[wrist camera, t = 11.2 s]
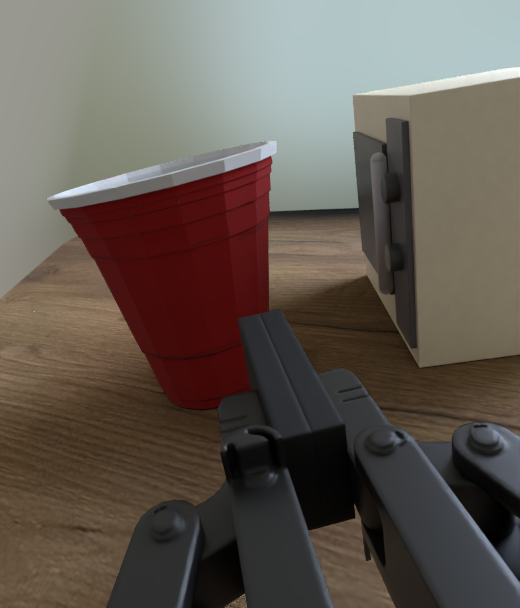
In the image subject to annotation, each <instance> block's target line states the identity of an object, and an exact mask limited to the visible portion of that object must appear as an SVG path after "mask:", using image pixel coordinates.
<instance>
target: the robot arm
mask: <svg viewBox="0 0 520 608" xmlns="http://www.w3.org/2000/svg"><path fill="white" fill-rule="evenodd" d="M237 320H238V325H239V330H240V335H241V340H242V346H243V351H244V356H245V361H246V366H247V371H248V376H249V381H250V386H251V391H247V392H243V393H238V394H234V395H230V396H226V397H223V398H222V400H221V402H220V405H219V407H218V409H217V410H218V416H219V422H220V429H221V435H222V441H223V443H222V444H221V451H220V454H221V458H222V462H223V466H224V470H225V474H226V480H225V483H224V484H223V486H222V487H221V489H220V490H219V491H218V492H217V493H216V494H215V495H214V496H212V497H211V498H209V499H208V500H206V501H205V502H203V503H201V504H199V505H197V506H194V505H193V504H191V503H189V502H187V501H183V500H171V501H166V502H162V503H160V504H158V505H156V506H154V507H153V508H151V509H150V510H148V511H147V512H146V513H145V514H144V515H143V516H142V517H141V518H140V520H139V522H138V523H137V525H136V527H135V529H134V532H133V535H132V538H131V540H130V543H129V546H128V549H127V551H126V554H125V557H124V560H123V563H122V565H121V568H120V571H119V574H118V576H117V579H116V582H115V585H114V587H113V590H112V593H111V596H110V599H109V601H108V604H107V607H106V608H224V606H226V605H228V604H229V603H231V602H232V601H234V600H235V599H237V598H238V597H240V596H241V595H243V594H244V593H245V595H246V601H247V607H248V608H334V606H333V603H332V600H331V597H330V594H329V591H328V588H327V585H326V582H325V579H324V576H323V573H322V570H321V567H320V564H319V561H318V558H317V555H316V552H315V549H314V546H313V543H312V540H311V537H310V534H309V530H313V529H316V528H320V527H324V526H328V525H331V524H335V523H339V522H343V521H346V520H350V519H354V518H355V509H354V504H355V506H356V508H357V510H358V512H359V514H360V517H361V523H362V533H363V543H364V552H365V557H366V561H368V560H371V555H370V552H371V554H372V556H373V558H374V561H375V563H376V565H377V567H378V569H379V572H380V574H381V576H382V578H383V581H384V583H385V585H386V587H387V589H388V592H389V594H390V596H391V598H392V600H393V603H394V605H395V607H396V608H520V437H519V436H517V435H516V434H514V433H513V432H511V431H509V430H508V429H505V428H503V427H501V426H499V425H496V424H491V423H486V422H472V423H468V424H465V425H462V426H460V427H459V428H458V429H456V430H455V431H454V434H453V436H452V442H423V441H417V440H414V439H413V437H412V436H411V435H410V434H408V433H407V432H406V431H405V430H403V429H401V428H399V427H396V426H392V425H391V424H390V423H389V421H388V420H387V418H386V417H385V416H384V414H383V413H382V411H381V410H380V408H379V407H378V406H377V404H376V403H375V401H374V400H373V399H372V397H371V396H370V395H369V393H368V391H367V390H366V389H365V387H363V384H362V383H361V382H360V380H359V379H358V377H357V376H356V375H355V374H353V373H351V372H349V371H348V370H346V369H344V368H340V369H335V370H331V371H327V372H323V373H318V374H317V373H316V371H315V370H314V368H313V366H312V364H311V362H310V361H309V359H308V357H307V355H306V353H305V352H304V350H303V348H302V346H301V345H300V343H299V341H298V339H297V337H296V336H295V334H294V332H293V330H292V328H291V327H290V325H289V323H288V321H287V320H286V318H285V316H284V314H283V312H282V311H281V309H278V310H274V311H269V312H265V313H260V314H256V315H251V316H247V317H242V318H237Z"/></svg>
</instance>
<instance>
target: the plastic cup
mask: <svg viewBox="0 0 520 608" xmlns="http://www.w3.org/2000/svg"><path fill="white" fill-rule="evenodd" d="M276 146H277V142H276V141H274V140H273V141H266V142H259V143H252V144H247V145H243V146H238V147H233V148H228V149H223V150H219V151H214V152H210V153H206V154H201V155H197V156H193V157H188V158H185V159H180V160H176V161H172V162H168V163H164V164H160V165H156V166H152V167H149V168H145V169H141V170H137V171H133V172H130V173H126V174H122V175H119V176H115V177H111V178H108V179H104V180H101V181H98V182H94V183H90V184H87V185H84V186H81V187H77V188H74V189H71V190H68V191H65V192H62V193H59V194H57V195H54V196H51V197H49V198H46V199H47V201H48V202H49V204H50V205H51V206H52V208H53V209H54V210H57V209H59V210H60V212H61V214H62V215H63V216H64V217H65V218H66V219H67V221H68V222H69V223H70V224H71V225H72V227H73V228H74V230H75V232H76V234H77V235H78V237H79V238H81V239H82V241H83V243H84V245H85V247H86V249H87V250H88V252H89V254H90V255H91V257H92V258H93V259H94V260H95V262H96V264H97V266H98V268H99V270H100V272H101V274H102V275H103V277H104V279H105V281H106V283H107V285H108V287H109V289H110V291H111V293H112V295H113V297H114V299H115V301H116V303H117V305H118V307H119V309H120V311H121V313H122V314H123V316H124V318H125V320H126V322H127V324H128V326H129V328H130V330H131V332H132V334H133V336H134V338H135V340H136V342H137V344H138V345H139V347H140V349H141V350H142V352H143V353H144V354H145V356H146V358H147V360H148V362H149V364H150V366H151V368H152V370H153V372H154V374H155V377H156V379H157V381H158V383H159V384H160V386H161V388H162V390H163V392H164V393H166V394H167V396H168V398H169V399H170V401H171V402H173V403H175V404H177V405H179V406H181V407H183V408H193V409H208V408H214V407H219V405H220V402H221V400H222V398H223V397H226V396H230V395H234V394H238V393H243V392H247V391H251V386H250V381H249V376H248V371H247V366H246V361H245V356H244V351H243V346H242V340H241V335H240V330H239V325H238V320H237V318H242V317H247V316H251V315H256V314H260V313H265V312H269V264H268V216H269V215H270V209H269V208H270V207H269V191H270V190H271V188H270V173H271V164H272V158H271V155H273V154H275V153H276Z"/></svg>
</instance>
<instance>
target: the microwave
mask: <svg viewBox="0 0 520 608" xmlns="http://www.w3.org/2000/svg"><path fill="white" fill-rule="evenodd" d="M353 106H354V119H355V132H353V139H354V150H355V163H356V177H357V188H358V201H359V214H360V227H361V240H362V250H363V252H364V253H365V261H366V274H367V276H368V278H369V280H370V281H371V283H372V285H373V287H374V288H375V290H376V292H377V294H378V295H379V297H380V299H381V301H382V303H383V304H384V306H385V308H386V310H387V311H388V313H389V315H390V317H391V318H392V320H393V322H394V324H395V325H396V327H397V329H398V331H399V333H400V334H401V336H402V338H403V340H404V341H405V343H406V345H407V347H408V348H409V350H410V352H411V354H412V355H413V357H414V359H415V361H416V363H417V364H418V366H419V367H420V368H421V367H429V366H436V365H444V364H452V363H459V362H467V361H475V360H482V359H490V358H497V357H505V356H513V355H520V67H517V68H507V69H500V70H494V71H488V72H483V73H477V74H471V75H465V76H459V77H453V78H448V79H442V80H436V81H430V82H424V83H418V84H413V85H407V86H401V87H396V88H390V89H384V90H378V91H372V92H366V93H360V94H355V95H353Z"/></svg>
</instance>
